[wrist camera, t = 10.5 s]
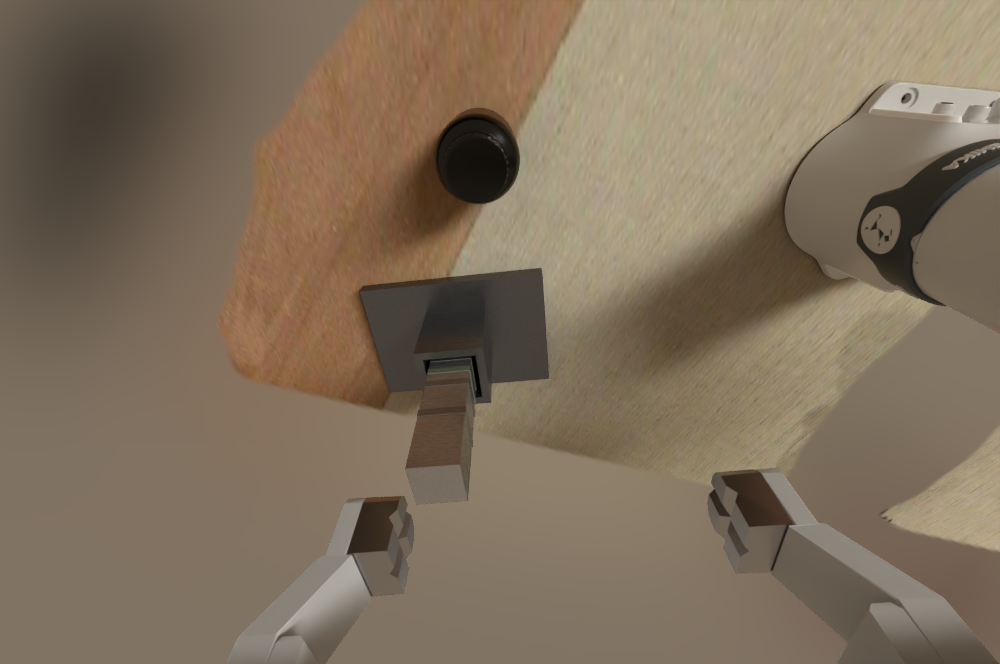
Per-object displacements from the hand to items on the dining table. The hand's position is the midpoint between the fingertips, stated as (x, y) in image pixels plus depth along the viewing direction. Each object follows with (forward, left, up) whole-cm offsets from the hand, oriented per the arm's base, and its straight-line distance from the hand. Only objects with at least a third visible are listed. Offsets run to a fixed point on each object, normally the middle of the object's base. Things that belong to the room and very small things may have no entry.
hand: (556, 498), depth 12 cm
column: (+8, +16, -30) cm, 35 cm away
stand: (+8, +16, -37) cm, 41 cm away
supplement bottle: (+3, -4, -37) cm, 38 cm away
